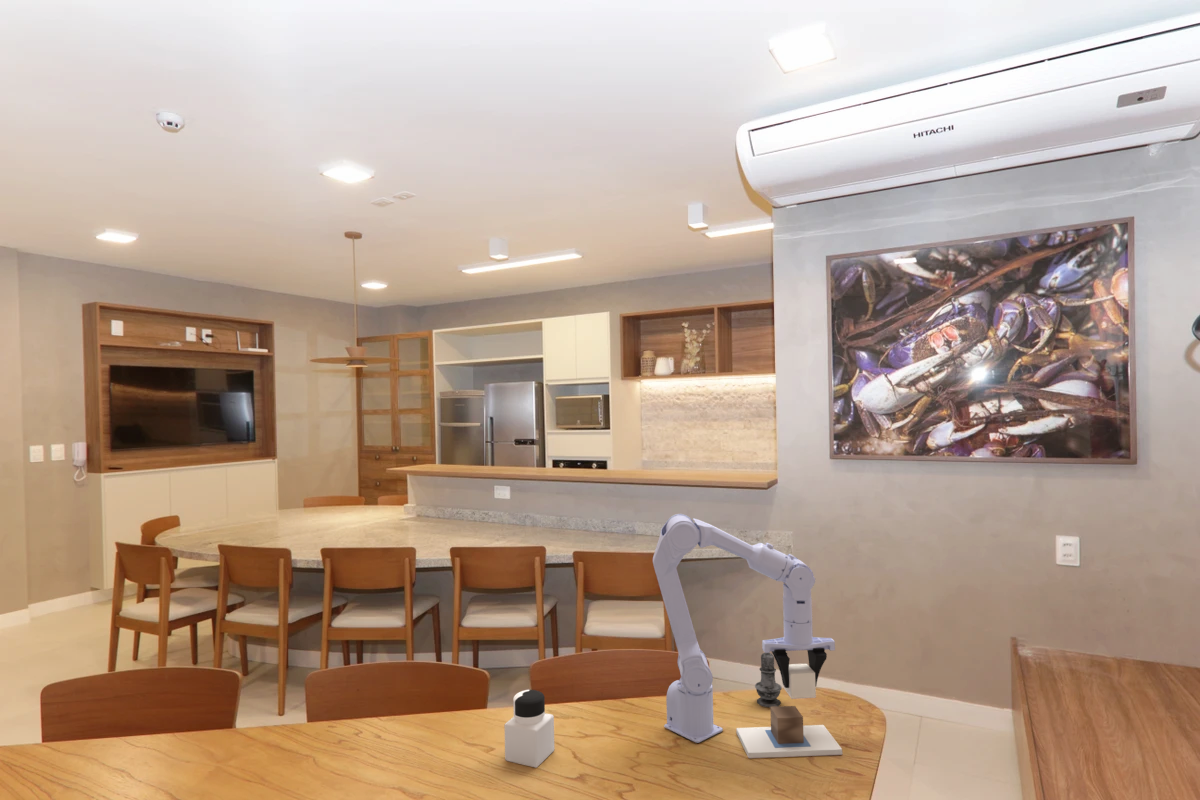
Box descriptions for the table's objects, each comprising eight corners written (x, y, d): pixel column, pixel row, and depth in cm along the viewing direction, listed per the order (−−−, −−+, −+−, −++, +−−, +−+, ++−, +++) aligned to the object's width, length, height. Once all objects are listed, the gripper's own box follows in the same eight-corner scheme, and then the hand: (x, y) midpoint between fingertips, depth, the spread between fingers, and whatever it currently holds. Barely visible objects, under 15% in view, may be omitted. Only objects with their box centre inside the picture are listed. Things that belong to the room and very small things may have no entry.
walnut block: (778, 743, 131) (777, 717, 131) (771, 731, 136) (770, 706, 136) (803, 743, 131) (803, 717, 131) (795, 730, 136) (795, 705, 136)
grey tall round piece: (785, 708, 149) (783, 653, 149) (758, 708, 149) (756, 653, 149) (778, 696, 155) (777, 644, 155) (752, 697, 155) (751, 644, 155)
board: (748, 758, 128) (748, 752, 128) (736, 732, 138) (736, 727, 138) (842, 754, 129) (842, 748, 129) (823, 729, 139) (823, 724, 139)
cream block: (791, 698, 136) (790, 673, 136) (784, 688, 141) (783, 664, 141) (815, 697, 136) (815, 672, 137) (807, 687, 142) (806, 663, 142)
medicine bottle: (555, 750, 133) (553, 689, 133) (536, 768, 126) (535, 704, 126) (523, 743, 136) (522, 683, 136) (504, 761, 129) (503, 698, 129)
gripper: (825, 612, 143) (827, 676, 143) (757, 614, 143) (759, 678, 143) (838, 622, 136) (839, 690, 136) (766, 625, 136) (768, 692, 136)
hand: (799, 685), depth 139 cm, fingers closed on cream block, 5 cm apart
